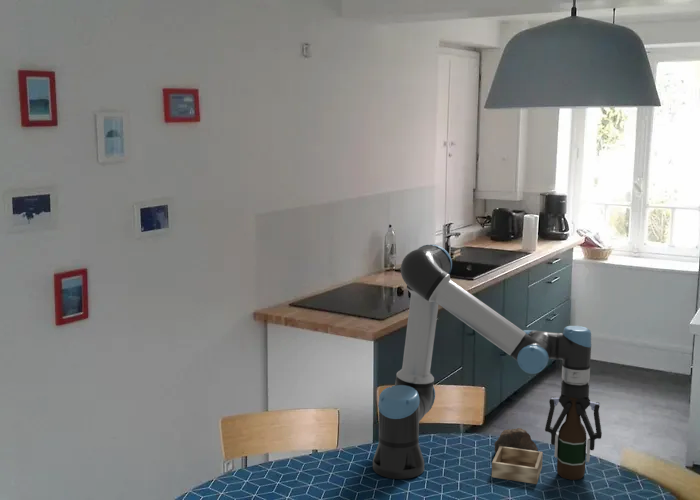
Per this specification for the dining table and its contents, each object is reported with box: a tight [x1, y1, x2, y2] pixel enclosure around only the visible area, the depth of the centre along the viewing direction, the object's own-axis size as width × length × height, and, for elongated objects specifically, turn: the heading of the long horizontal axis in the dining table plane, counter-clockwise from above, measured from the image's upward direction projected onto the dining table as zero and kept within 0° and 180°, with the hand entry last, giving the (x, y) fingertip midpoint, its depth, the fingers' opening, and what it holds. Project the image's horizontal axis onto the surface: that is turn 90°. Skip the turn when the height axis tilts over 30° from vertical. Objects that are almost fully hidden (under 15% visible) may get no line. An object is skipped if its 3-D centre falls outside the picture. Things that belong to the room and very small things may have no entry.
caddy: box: [491, 446, 544, 485], centre depth 216 cm, size 13×13×4 cm
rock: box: [493, 427, 539, 454], centre depth 230 cm, size 14×9×10 cm
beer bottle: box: [556, 398, 588, 481], centre depth 213 cm, size 8×8×24 cm
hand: (571, 457), depth 213 cm, fingers open, 8 cm apart
